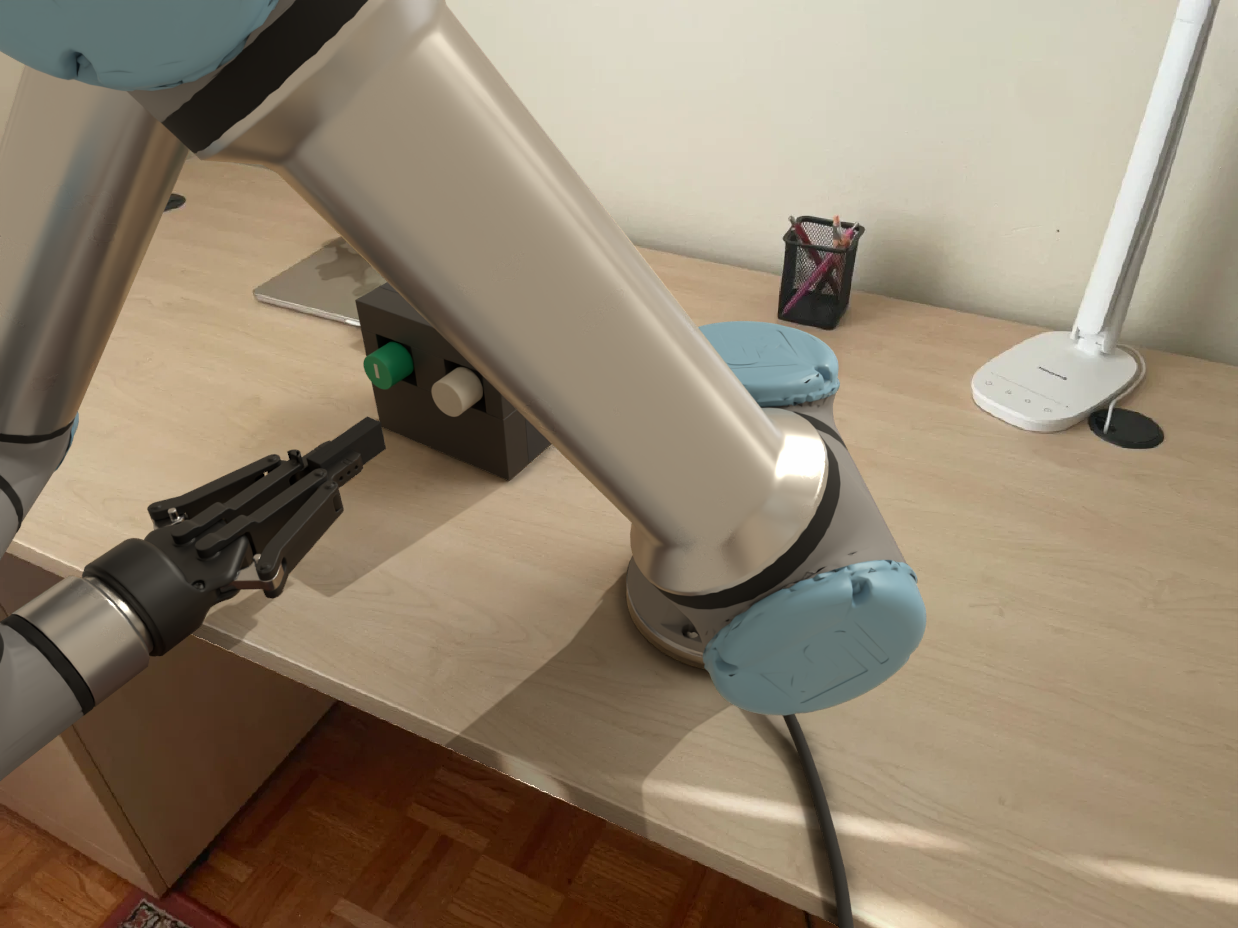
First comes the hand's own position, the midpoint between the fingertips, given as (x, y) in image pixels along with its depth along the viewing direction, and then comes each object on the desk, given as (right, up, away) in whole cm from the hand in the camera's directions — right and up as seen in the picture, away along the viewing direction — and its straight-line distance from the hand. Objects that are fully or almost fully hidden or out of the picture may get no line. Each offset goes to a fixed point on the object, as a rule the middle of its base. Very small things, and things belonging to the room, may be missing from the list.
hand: (376, 432), depth 74 cm
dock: (+5, +1, +15) cm, 16 cm away
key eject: (+6, +2, +6) cm, 8 cm away
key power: (-1, +5, +9) cm, 10 cm away
